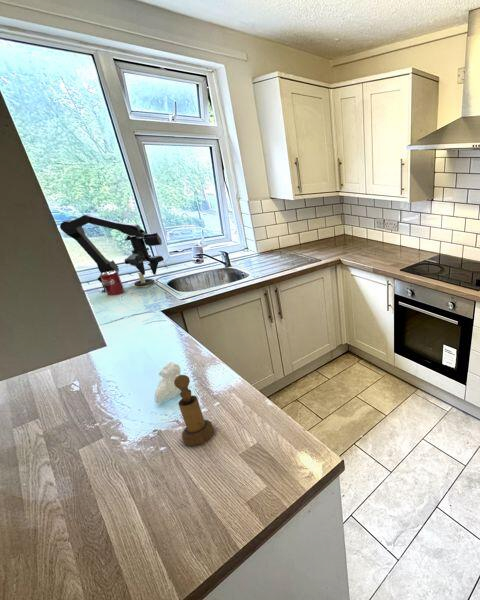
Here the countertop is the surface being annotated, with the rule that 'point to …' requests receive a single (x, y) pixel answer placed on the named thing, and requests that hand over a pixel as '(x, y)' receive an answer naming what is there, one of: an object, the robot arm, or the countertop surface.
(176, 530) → the countertop surface
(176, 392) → the bust
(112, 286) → the soda can
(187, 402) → the mortar and pestle
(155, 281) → the peg stand
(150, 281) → the hoop
